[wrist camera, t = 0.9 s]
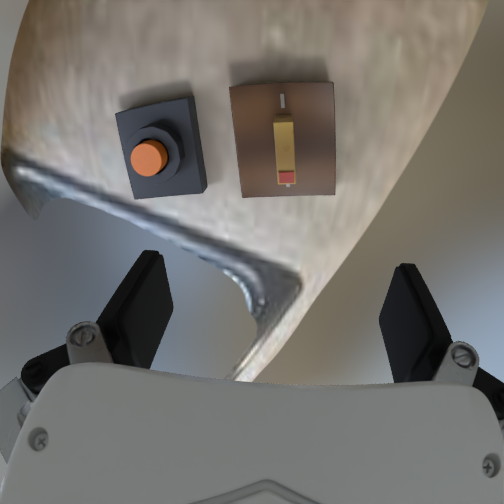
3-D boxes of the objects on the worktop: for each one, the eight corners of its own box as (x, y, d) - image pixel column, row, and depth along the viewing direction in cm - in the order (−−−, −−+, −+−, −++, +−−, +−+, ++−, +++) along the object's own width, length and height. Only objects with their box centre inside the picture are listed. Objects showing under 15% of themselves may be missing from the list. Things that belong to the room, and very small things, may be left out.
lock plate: (234, 86, 28) (228, 87, 25) (329, 81, 26) (333, 82, 24) (245, 188, 34) (241, 198, 32) (331, 185, 33) (335, 196, 30)
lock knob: (275, 115, 26) (273, 122, 22) (292, 114, 26) (293, 122, 22) (279, 167, 29) (277, 185, 25) (295, 167, 29) (296, 185, 25)
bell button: (134, 142, 29) (127, 146, 27) (164, 137, 28) (157, 140, 27) (141, 172, 31) (134, 178, 29) (170, 169, 30) (164, 174, 29)
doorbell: (123, 110, 30) (106, 116, 27) (194, 95, 29) (182, 99, 25) (141, 192, 36) (127, 206, 33) (207, 186, 35) (198, 200, 31)
